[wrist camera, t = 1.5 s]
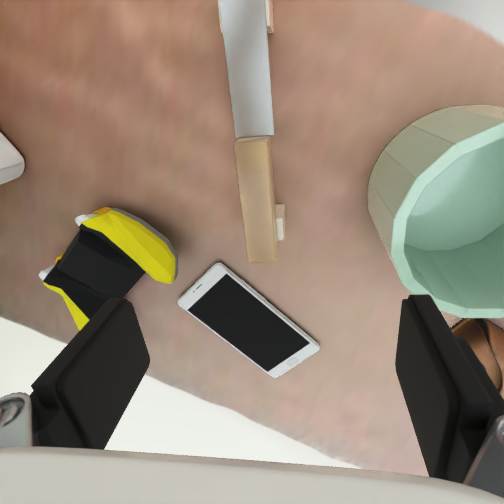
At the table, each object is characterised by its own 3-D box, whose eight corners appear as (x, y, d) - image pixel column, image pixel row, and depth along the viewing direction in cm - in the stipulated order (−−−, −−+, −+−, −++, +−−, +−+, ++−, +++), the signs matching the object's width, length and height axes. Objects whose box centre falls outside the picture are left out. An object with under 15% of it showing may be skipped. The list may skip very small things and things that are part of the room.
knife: (262, -45, 19) (256, -63, 17) (281, 245, 28) (279, 262, 26) (215, -37, 20) (203, -53, 18) (249, 246, 28) (244, 262, 26)
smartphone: (274, 380, 39) (174, 303, 36) (275, 376, 40) (176, 300, 37) (322, 349, 36) (217, 261, 33) (322, 344, 37) (219, 258, 33)
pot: (371, 113, 26) (402, 129, 18) (557, 96, 24) (685, 105, 16) (363, 257, 31) (384, 318, 23) (513, 253, 29) (590, 318, 21)
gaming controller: (199, 246, 33) (116, 178, 31) (181, 275, 28) (81, 196, 26) (125, 326, 40) (51, 273, 37) (100, 360, 35) (14, 303, 33)
